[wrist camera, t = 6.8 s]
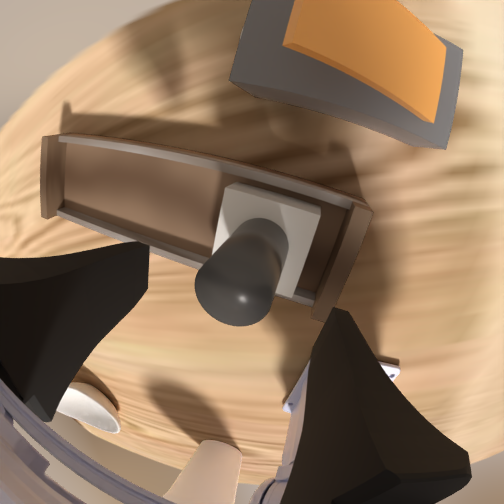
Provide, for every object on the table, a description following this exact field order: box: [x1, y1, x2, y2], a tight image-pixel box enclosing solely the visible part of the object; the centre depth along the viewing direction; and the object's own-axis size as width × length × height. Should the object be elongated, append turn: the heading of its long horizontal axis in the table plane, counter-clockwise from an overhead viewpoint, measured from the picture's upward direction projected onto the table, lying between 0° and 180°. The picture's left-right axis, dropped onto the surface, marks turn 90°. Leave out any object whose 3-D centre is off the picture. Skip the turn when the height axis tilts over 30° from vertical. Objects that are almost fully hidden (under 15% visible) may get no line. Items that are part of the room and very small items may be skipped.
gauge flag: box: [282, 0, 446, 123], centre depth 6 cm, size 4×7×1 cm
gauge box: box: [229, 0, 463, 150], centre depth 11 cm, size 6×10×5 cm, turn 76°
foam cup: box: [162, 440, 242, 504], centre depth 26 cm, size 10×9×13 cm
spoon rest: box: [56, 382, 121, 433], centre depth 34 cm, size 24×12×7 cm, turn 93°
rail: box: [40, 133, 373, 322], centre depth 17 cm, size 7×24×3 cm, turn 76°
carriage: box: [195, 182, 321, 326], centre depth 13 cm, size 5×5×7 cm
